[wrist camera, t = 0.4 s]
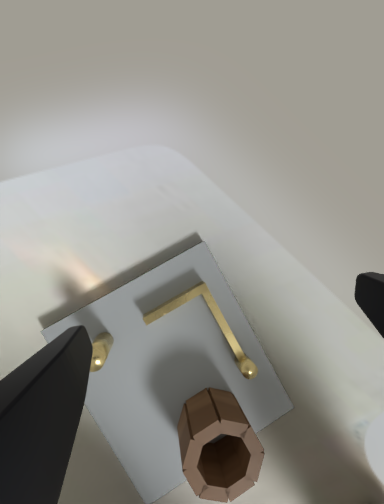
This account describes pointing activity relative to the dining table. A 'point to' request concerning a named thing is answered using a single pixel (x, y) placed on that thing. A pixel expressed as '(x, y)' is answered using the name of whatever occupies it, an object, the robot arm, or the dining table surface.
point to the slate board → (169, 366)
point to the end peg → (101, 350)
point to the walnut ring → (218, 446)
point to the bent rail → (201, 288)
